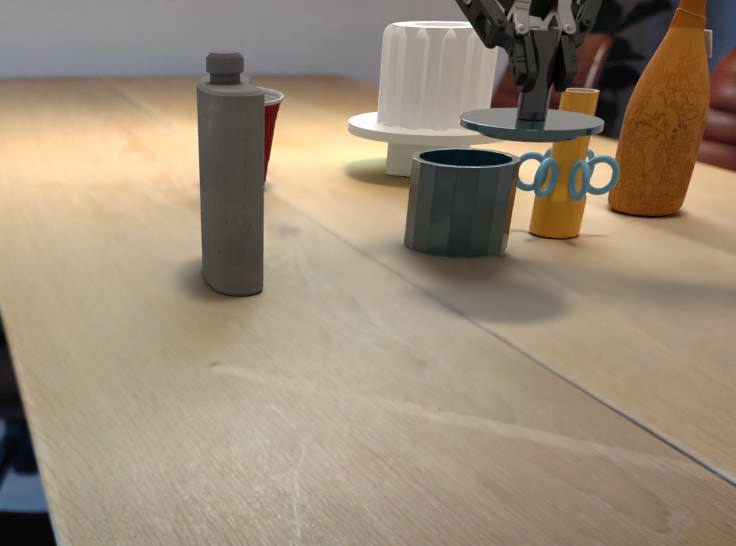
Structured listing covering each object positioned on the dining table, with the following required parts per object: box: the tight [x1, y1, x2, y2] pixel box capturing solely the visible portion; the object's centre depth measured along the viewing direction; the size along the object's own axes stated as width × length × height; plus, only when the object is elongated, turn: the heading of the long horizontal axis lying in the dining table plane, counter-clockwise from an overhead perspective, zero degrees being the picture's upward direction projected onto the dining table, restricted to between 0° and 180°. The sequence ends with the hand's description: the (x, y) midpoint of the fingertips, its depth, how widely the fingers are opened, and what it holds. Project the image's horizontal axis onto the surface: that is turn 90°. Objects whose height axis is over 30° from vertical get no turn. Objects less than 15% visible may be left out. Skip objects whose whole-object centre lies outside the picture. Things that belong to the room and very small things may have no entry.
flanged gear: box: [347, 20, 507, 178], centre depth 134 cm, size 25×25×19 cm
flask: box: [195, 50, 265, 297], centre depth 90 cm, size 15×6×20 cm, turn 7°
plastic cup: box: [257, 86, 285, 186], centre depth 128 cm, size 11×11×12 cm
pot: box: [403, 147, 521, 259], centre depth 102 cm, size 12×12×10 cm
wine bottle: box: [607, 0, 713, 217], centre depth 111 cm, size 10×10×30 cm
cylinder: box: [516, 87, 620, 239], centre depth 106 cm, size 12×10×15 cm
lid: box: [459, 27, 605, 144], centre depth 78 cm, size 12×12×8 cm
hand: (546, 84), depth 76 cm, fingers closed on lid, 2 cm apart
